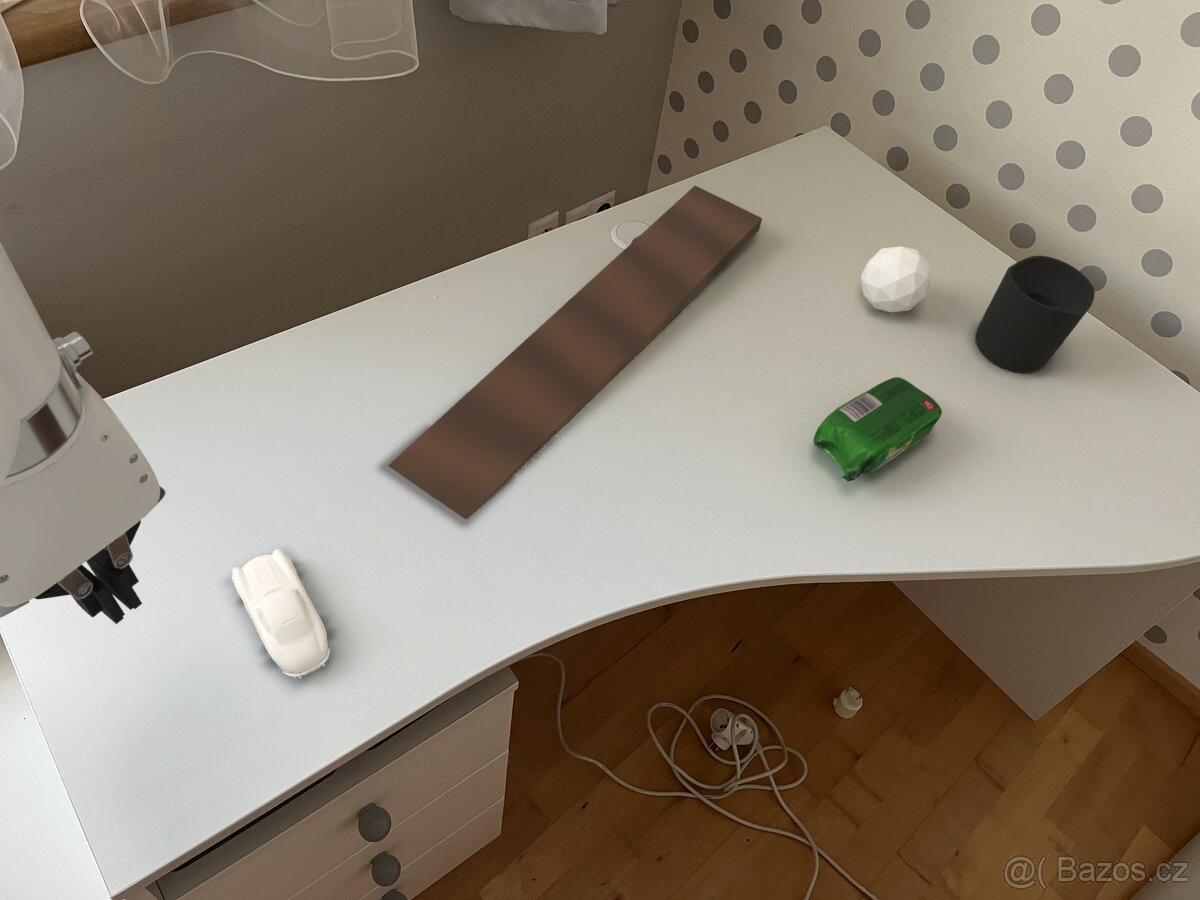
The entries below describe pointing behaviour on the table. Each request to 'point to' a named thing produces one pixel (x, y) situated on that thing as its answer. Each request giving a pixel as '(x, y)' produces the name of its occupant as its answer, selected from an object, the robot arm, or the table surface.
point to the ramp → (575, 353)
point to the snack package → (877, 426)
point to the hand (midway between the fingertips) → (114, 601)
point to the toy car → (282, 613)
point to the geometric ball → (896, 279)
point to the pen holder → (1033, 313)
